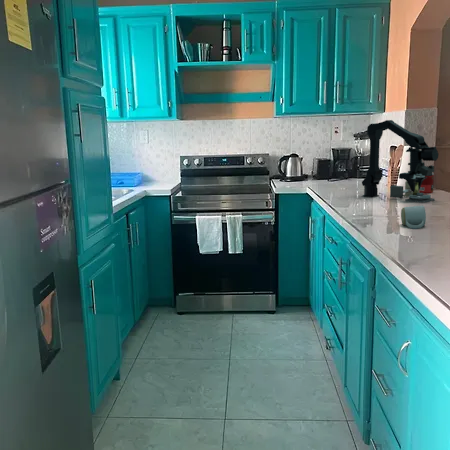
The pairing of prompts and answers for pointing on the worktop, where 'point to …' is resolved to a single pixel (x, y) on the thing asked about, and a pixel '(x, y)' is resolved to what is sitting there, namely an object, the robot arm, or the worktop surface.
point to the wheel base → (420, 200)
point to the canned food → (427, 185)
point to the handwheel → (419, 194)
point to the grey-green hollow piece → (408, 188)
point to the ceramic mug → (413, 216)
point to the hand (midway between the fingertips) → (415, 191)
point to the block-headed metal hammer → (398, 191)
